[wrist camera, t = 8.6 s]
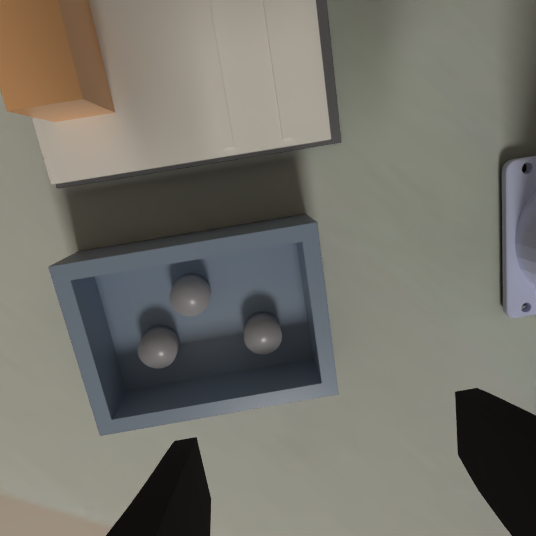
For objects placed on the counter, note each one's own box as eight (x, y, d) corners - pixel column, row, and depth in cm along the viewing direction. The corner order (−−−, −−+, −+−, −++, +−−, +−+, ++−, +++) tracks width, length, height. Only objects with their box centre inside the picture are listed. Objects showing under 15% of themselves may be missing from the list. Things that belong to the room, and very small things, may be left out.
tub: (305, 214, 19) (317, 222, 16) (325, 363, 21) (338, 394, 18) (78, 251, 19) (48, 267, 16) (119, 398, 21) (99, 435, 18)
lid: (297, -81, 16) (320, -187, 11) (323, 141, 18) (352, 132, 13) (7, -38, 16) (-96, -127, 11) (68, 182, 18) (5, 189, 13)
